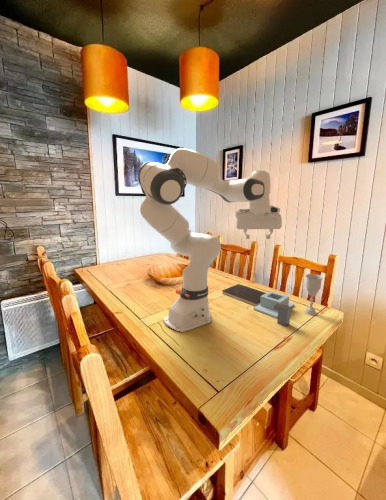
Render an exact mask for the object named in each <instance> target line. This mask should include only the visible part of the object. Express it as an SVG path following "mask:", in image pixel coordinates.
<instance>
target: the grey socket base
mask: <svg viewBox="0 0 386 500" xmlns="http://www.w3.org/2000/svg"><path fill="white" fill-rule="evenodd" d="M265 293H266V294H264V295H262V296H261V298H260V304H259V305H257V306H254V307H253V310H254V311H256V312H258V313H260V314H261V313H262V314H264V315H266V316H269V317H272V318H274V319H278V310H275V309H274V305H276V304H280V305H281V304H283V305H286V306H289V307H291V309H292V308H293V307H294V306H295V303H293V302H290V296H289V295H286V294H282V293H279V292H275V291H271V290H270V291H268V292H265Z"/></svg>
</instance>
